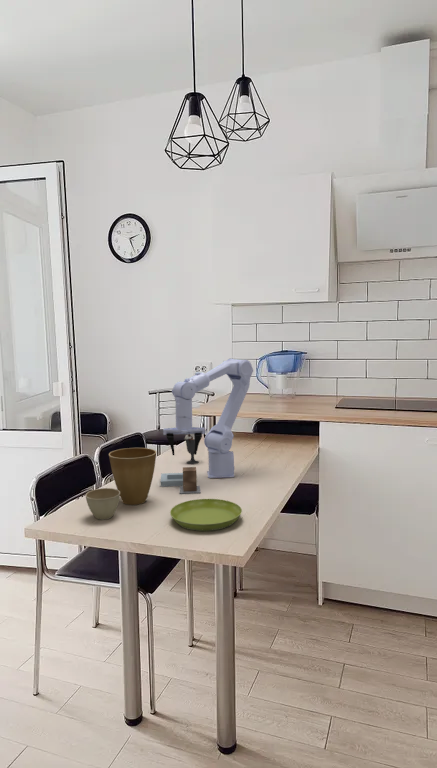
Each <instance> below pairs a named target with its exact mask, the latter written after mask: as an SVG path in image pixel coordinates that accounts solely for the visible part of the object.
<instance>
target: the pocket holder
mask: <svg viewBox="0 0 437 768" xmlns="http://www.w3.org/2000/svg"><path fill="white" fill-rule="evenodd" d="M181 486H183V472H166V473H165V472H164V473H160V487H181Z"/></svg>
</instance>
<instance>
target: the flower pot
mask: <svg viewBox="0 0 437 768" xmlns="http://www.w3.org/2000/svg"><path fill="white" fill-rule="evenodd" d="M85 499H86V503H87V506H88V508H89V510H90V512H91V514H92V516H93V517H94V518H95V519H96V520H102V521H103V520H109V519H110V518H112V517H113V516H114V515H115V512H116V510H117V508H118V505H119V501H120V499H121V497H120V491H119V490H118V489H117V488H111V487H109V488H108V487H104V488H103V487H102V488H96V489H92V490H89V491H87V492H86V493H85Z"/></svg>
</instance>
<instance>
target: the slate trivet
mask: <svg viewBox="0 0 437 768" xmlns="http://www.w3.org/2000/svg"><path fill="white" fill-rule="evenodd" d="M178 487H179V490H178V491H179V495H189V494H190V495H191V494H192V495H193V494H201V492H202V491H201V486H200V485H197V491H183V486H178Z"/></svg>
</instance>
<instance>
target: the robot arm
mask: <svg viewBox="0 0 437 768" xmlns="http://www.w3.org/2000/svg"><path fill="white" fill-rule="evenodd" d="M253 372H254V369H253V366H252V362H251V361H250V360H248V359H236V358H232V357H231V358H228V359H226V360H223V361H222V362H221V363H220V364H218V365H216V366H215V367H213V368H211V369H210V370H208V371H207V372H203V371H201V372H200V371H197V372H195V373H194V375H192V376H191V377H186V378H184V380H183V381H177V382H176V383H174V385H173V388H172V390H171V393H172V395H173V397H174V401H175V427H170V428H169V427H168V428H162V431H163V432H162V433H163V434H162V435H163V436H166V440H167V441H168V443H169V446H170V449H171V454H172V456H175V447H174V446H175V445H174V444H175V443H174V441H175V439H174V437H175V436H174V435H187V434H194V443H195V444H194V456H195V455H197V452H198V450H197V448H198V449H199V444H200V442H201V441H202V440H201V439H202V437H203V435H205V437H204V439H203V441H204V446H205V447H206V448H207V451H208V458H207V459H208V470H207V471H206V473H207V478H208V479H216V478H217V479H220V478H224V479H225V478H235V455H234V451H232V450H231V448H232V446H233V439H234V433H233V431H232V428H233V426H234V423H235V421H236V419H237V417H238V414H239V413H240V409H241V407H242V405H243V402H244V401H245V398H246V395H247V393H248V390H249V388H250V384H251V383H250V381H251V377H252V375H253ZM224 375H227V377H228V378H229V380H230V381H231V383H232V385H233V387H232V389H231V391H230V394H229V395H228V397H227V398H228V399H227V400H226V402H225V405H224V407H223V410H222V412H221V414H220V417H219V419H218V422H217V423H216V424H215V425H213V426H212V427H211V428H210V430H209V432H207V434H206V428H205V427H194V426H193V398H194V397H195V395H196V393H198V392H200V391H202V390H203V389H206V388H207V387H209V386H210V382H212V381H213V380H216V379H218V378H220V377H223V376H224ZM230 450H231V451H230Z"/></svg>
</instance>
